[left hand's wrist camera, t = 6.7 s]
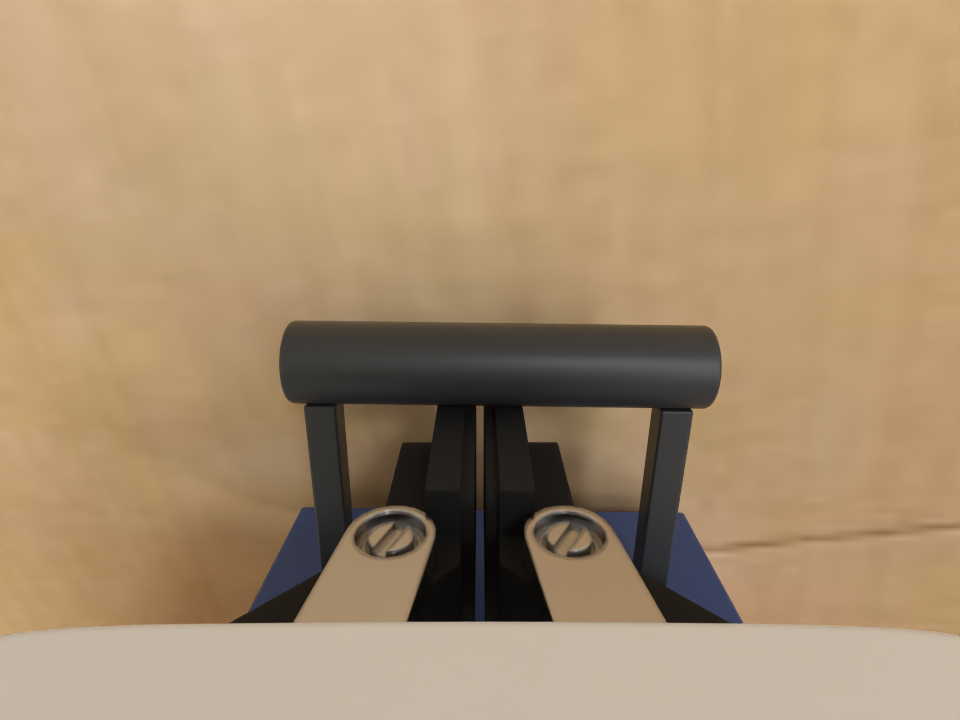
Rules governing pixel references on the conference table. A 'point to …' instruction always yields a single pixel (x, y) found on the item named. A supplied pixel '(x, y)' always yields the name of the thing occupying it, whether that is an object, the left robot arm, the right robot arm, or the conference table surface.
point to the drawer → (505, 382)
